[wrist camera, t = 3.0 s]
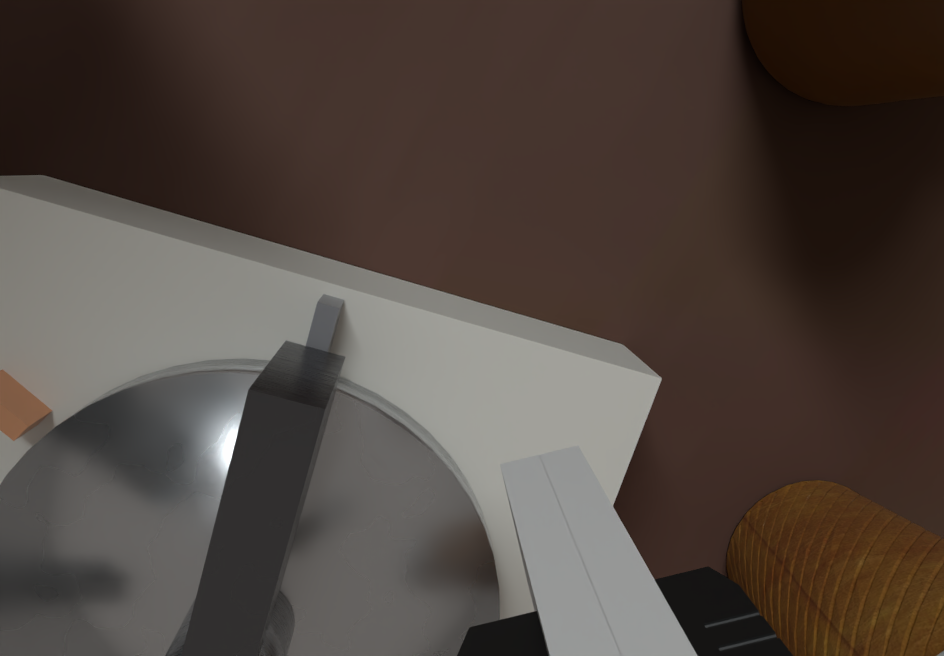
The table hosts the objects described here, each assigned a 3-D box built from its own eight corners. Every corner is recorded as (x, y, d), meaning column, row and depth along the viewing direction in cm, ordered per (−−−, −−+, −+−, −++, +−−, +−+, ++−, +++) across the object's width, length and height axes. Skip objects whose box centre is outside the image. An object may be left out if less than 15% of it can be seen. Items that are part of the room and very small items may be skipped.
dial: (418, 823, 23) (419, 1013, 18) (-39, 743, 21) (-189, 932, 16) (569, 403, 20) (622, 486, 15) (48, 259, 18) (-103, 298, 13)
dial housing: (-47, 694, 25) (-163, 825, 20) (43, 175, 21) (-73, 177, 16) (459, 788, 28) (468, 923, 23) (622, 344, 24) (676, 391, 19)
